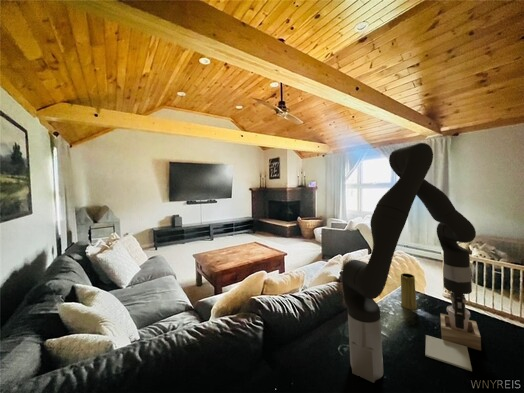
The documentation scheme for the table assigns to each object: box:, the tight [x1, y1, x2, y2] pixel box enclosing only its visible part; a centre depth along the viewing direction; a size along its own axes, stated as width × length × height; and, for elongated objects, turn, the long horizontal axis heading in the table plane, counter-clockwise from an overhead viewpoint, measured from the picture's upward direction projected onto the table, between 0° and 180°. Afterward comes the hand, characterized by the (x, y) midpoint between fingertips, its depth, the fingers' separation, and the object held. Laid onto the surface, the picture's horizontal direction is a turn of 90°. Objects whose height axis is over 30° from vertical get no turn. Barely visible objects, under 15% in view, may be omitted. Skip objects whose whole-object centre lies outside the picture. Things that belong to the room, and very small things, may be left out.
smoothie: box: [446, 305, 471, 332], centre depth 79 cm, size 6×6×14 cm
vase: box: [400, 272, 418, 311], centre depth 100 cm, size 6×6×14 cm
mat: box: [424, 334, 473, 372], centre depth 72 cm, size 11×11×1 cm
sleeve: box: [439, 312, 482, 351], centre depth 79 cm, size 10×10×4 cm
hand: (458, 322), depth 79 cm, fingers closed on smoothie, 6 cm apart
